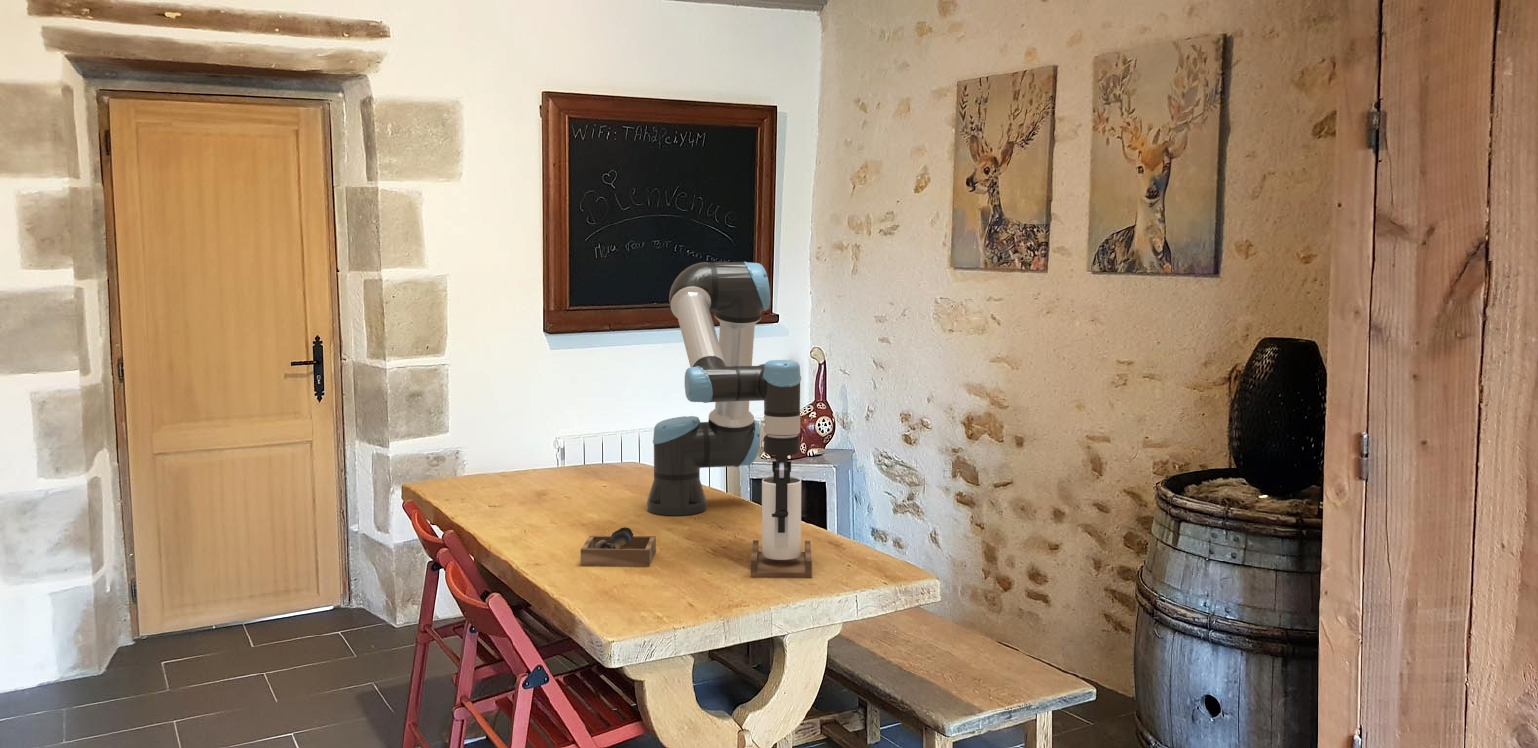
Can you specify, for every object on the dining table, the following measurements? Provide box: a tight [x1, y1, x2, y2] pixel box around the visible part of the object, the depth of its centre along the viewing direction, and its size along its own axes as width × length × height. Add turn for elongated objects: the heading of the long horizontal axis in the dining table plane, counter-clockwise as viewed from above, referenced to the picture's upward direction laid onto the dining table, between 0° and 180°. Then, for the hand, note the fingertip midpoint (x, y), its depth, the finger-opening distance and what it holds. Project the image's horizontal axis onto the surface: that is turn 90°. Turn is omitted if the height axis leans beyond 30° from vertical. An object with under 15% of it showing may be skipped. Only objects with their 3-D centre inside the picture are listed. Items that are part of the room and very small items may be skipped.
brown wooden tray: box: [750, 539, 813, 579], centre depth 240 cm, size 16×12×4 cm
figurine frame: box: [580, 535, 657, 567], centre depth 246 cm, size 12×14×4 cm
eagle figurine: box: [595, 527, 634, 549], centre depth 245 cm, size 8×7×9 cm
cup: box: [761, 475, 802, 560], centre depth 239 cm, size 8×8×16 cm
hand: (781, 541), depth 240 cm, fingers closed on cup, 8 cm apart
